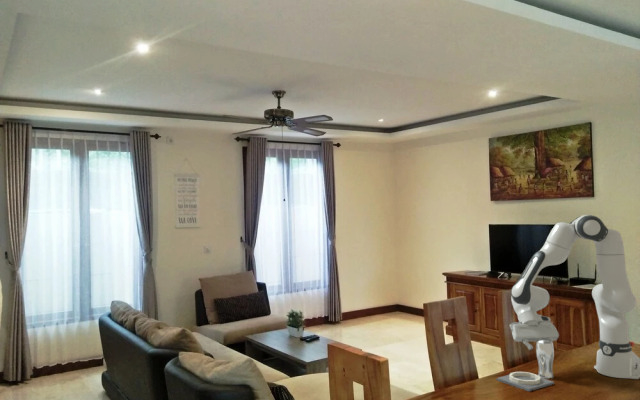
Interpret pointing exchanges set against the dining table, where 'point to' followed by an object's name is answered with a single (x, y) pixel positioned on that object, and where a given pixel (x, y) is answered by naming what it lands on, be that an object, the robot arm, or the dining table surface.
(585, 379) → the dining table surface
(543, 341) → the beer glass
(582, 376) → the dining table surface
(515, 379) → the slate tile
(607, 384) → the dining table surface
